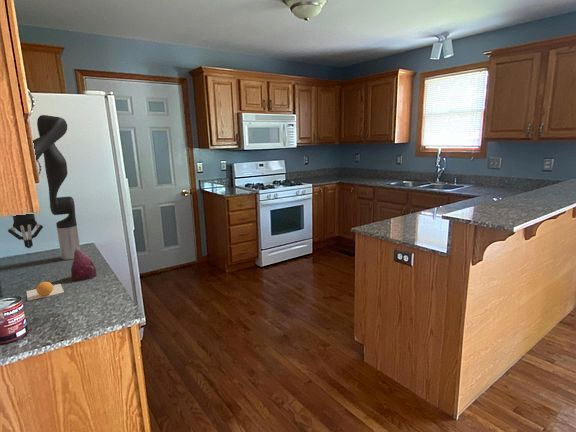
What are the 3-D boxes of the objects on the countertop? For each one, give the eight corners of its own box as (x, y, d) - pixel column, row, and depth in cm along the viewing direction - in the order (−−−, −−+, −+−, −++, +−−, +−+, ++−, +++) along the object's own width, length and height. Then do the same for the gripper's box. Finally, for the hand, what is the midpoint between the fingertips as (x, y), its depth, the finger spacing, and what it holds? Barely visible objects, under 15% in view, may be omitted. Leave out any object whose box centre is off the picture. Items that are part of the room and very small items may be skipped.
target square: (26, 291, 143) (26, 291, 143) (60, 284, 151) (60, 283, 151) (27, 300, 134) (27, 300, 134) (64, 292, 141) (64, 292, 141)
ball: (38, 290, 134) (39, 300, 137) (55, 285, 138) (55, 295, 141) (34, 281, 137) (34, 291, 139) (50, 277, 141) (50, 287, 143)
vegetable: (69, 285, 158) (55, 255, 155) (90, 275, 167) (77, 246, 164) (81, 283, 152) (67, 252, 150) (102, 273, 161) (89, 243, 159)
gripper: (40, 206, 158) (46, 243, 161) (3, 210, 150) (10, 248, 153) (41, 208, 152) (47, 246, 155) (3, 212, 144) (10, 252, 147)
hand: (29, 247), depth 154 cm, fingers closed
